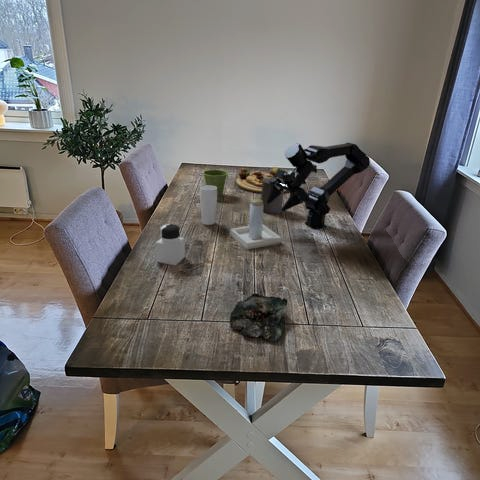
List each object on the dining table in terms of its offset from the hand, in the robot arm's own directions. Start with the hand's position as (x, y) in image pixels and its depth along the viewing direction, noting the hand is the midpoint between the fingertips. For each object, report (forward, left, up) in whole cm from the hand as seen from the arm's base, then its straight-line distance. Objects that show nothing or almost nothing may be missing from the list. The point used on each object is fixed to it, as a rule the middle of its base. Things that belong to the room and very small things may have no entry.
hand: (274, 206), depth 158 cm
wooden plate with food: (-31, -59, -12) cm, 68 cm away
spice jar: (+8, +1, -11) cm, 13 cm away
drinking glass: (+18, -20, -12) cm, 30 cm away
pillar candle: (-14, -24, -12) cm, 30 cm away
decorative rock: (+32, +47, -12) cm, 58 cm away
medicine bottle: (+42, +5, -12) cm, 44 cm away
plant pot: (+1, -52, -12) cm, 54 cm away
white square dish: (+8, +1, -12) cm, 14 cm away
